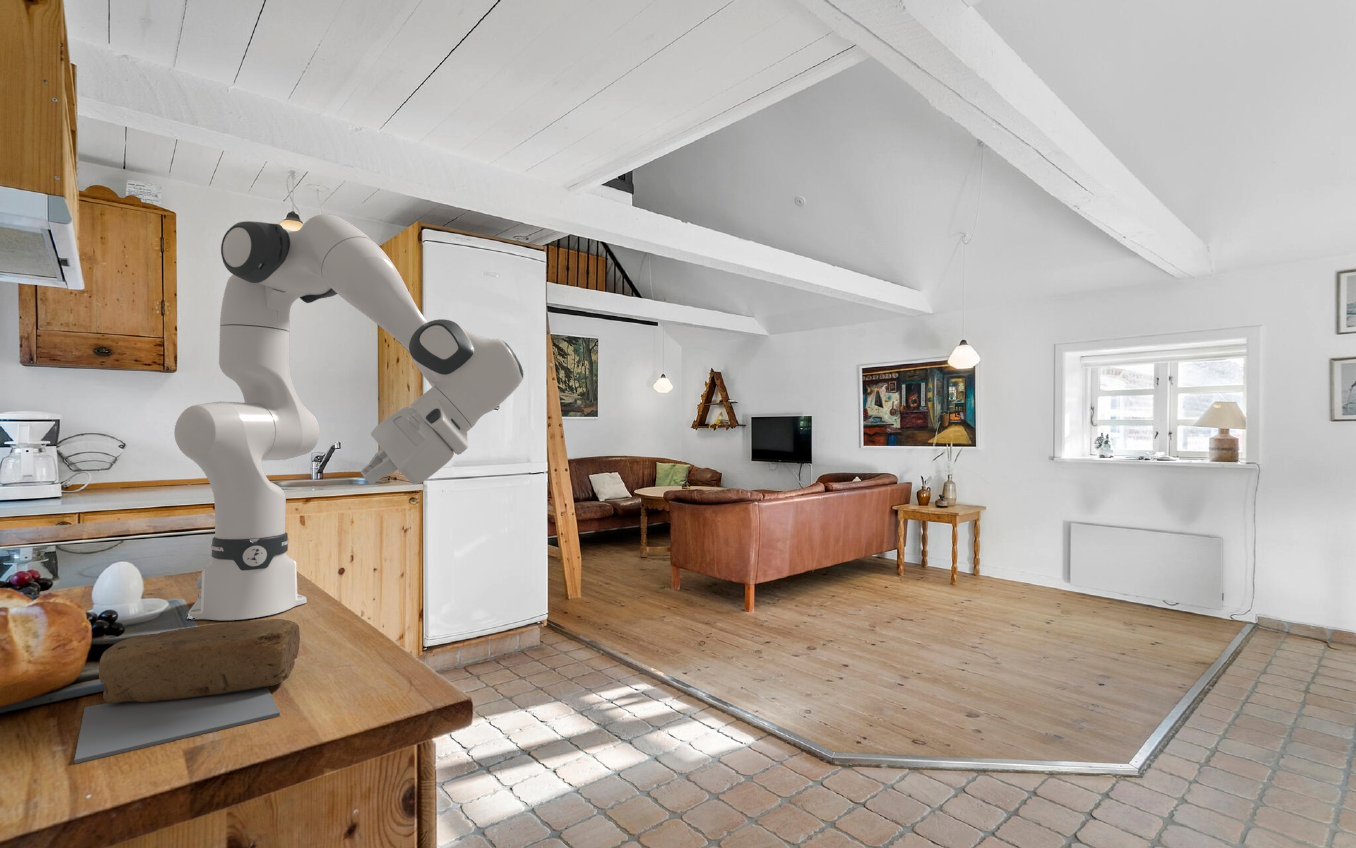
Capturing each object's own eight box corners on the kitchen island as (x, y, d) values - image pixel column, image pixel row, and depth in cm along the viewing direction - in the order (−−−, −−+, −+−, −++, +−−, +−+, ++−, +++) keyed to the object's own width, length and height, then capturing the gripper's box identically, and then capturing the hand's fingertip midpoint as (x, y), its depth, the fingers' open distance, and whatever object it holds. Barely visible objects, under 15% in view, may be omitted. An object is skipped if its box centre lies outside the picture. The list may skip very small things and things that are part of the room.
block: (284, 632, 83) (90, 653, 77) (285, 690, 83) (92, 716, 77) (302, 609, 94) (133, 626, 87) (303, 661, 94) (134, 681, 87)
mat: (84, 710, 78) (84, 707, 78) (260, 676, 90) (260, 673, 90) (74, 764, 66) (74, 760, 66) (279, 716, 77) (279, 712, 77)
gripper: (407, 389, 109) (337, 444, 105) (445, 422, 94) (365, 488, 90) (431, 416, 113) (365, 469, 109) (471, 451, 97) (396, 516, 93)
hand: (365, 478), depth 99 cm, fingers closed
